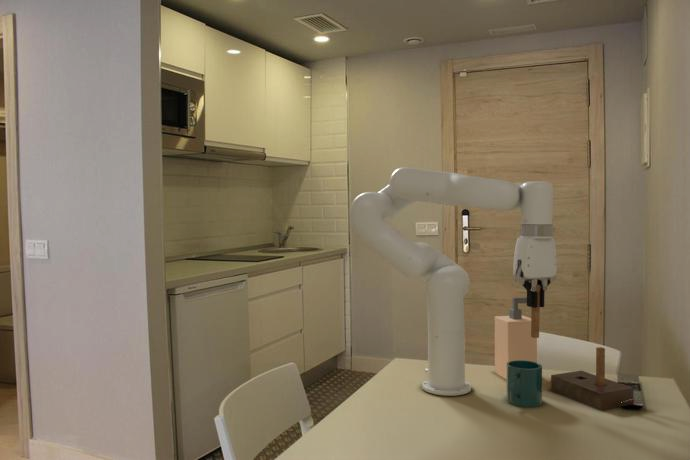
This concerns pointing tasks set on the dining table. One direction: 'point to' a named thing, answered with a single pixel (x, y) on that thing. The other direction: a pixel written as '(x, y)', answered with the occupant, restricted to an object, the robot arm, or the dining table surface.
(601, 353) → the stirrer
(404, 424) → the dining table surface
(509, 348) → the soap dispenser
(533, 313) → the stirrer
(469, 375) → the dining table surface
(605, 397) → the stirrer stand
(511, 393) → the mug
